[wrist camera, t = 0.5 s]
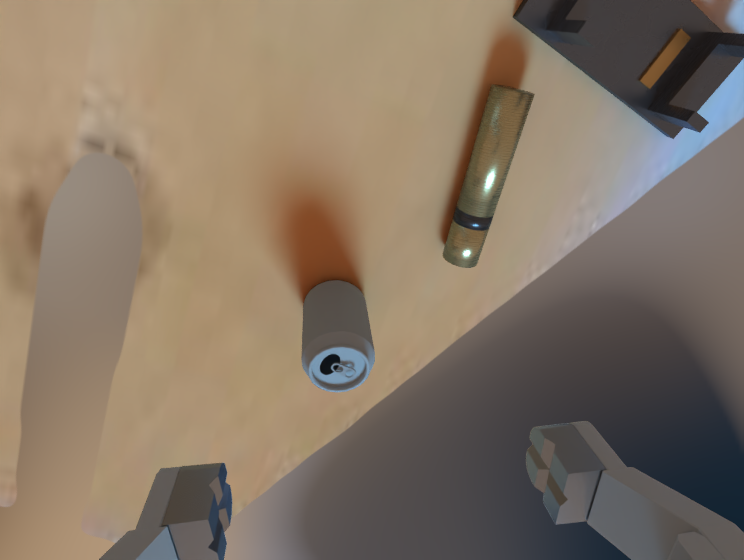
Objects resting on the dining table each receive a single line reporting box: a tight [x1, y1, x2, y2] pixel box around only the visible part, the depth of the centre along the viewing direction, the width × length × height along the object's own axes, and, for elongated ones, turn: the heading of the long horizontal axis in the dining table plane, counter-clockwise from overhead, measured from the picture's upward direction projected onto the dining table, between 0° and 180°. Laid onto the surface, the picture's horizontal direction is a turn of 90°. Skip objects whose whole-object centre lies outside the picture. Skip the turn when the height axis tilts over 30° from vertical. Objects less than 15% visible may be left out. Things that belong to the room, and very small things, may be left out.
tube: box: [443, 85, 535, 268], centre depth 45 cm, size 18×4×4 cm, turn 170°
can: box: [302, 280, 375, 392], centre depth 48 cm, size 8×8×12 cm
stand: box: [513, 0, 744, 139], centre depth 38 cm, size 22×9×6 cm, turn 60°
